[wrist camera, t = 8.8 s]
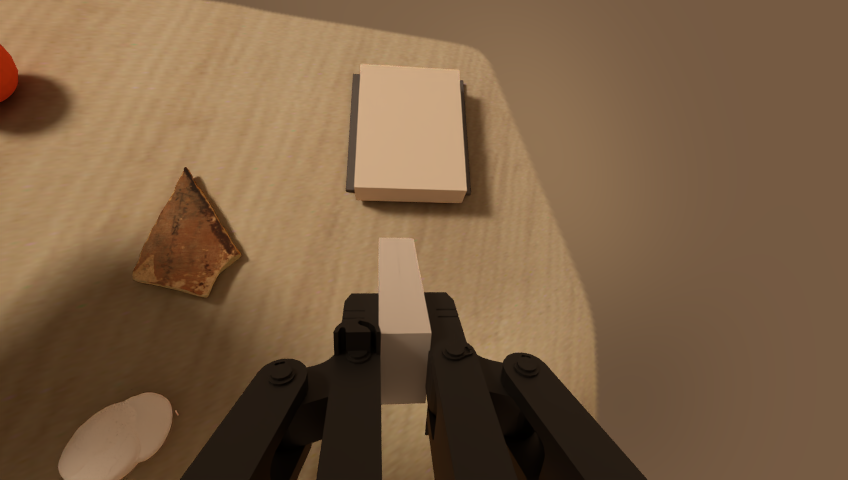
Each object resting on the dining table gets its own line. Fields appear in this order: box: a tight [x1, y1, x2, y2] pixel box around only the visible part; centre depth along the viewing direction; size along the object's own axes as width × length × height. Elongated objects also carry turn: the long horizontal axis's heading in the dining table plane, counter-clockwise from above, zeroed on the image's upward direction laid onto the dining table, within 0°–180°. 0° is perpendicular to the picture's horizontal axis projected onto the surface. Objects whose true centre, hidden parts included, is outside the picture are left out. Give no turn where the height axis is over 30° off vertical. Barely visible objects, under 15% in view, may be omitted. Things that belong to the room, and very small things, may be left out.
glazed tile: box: [354, 64, 467, 203], centre depth 38 cm, size 10×3×14 cm
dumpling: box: [58, 392, 179, 480], centre depth 27 cm, size 7×5×4 cm
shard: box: [133, 167, 241, 298], centre depth 34 cm, size 11×8×2 cm
